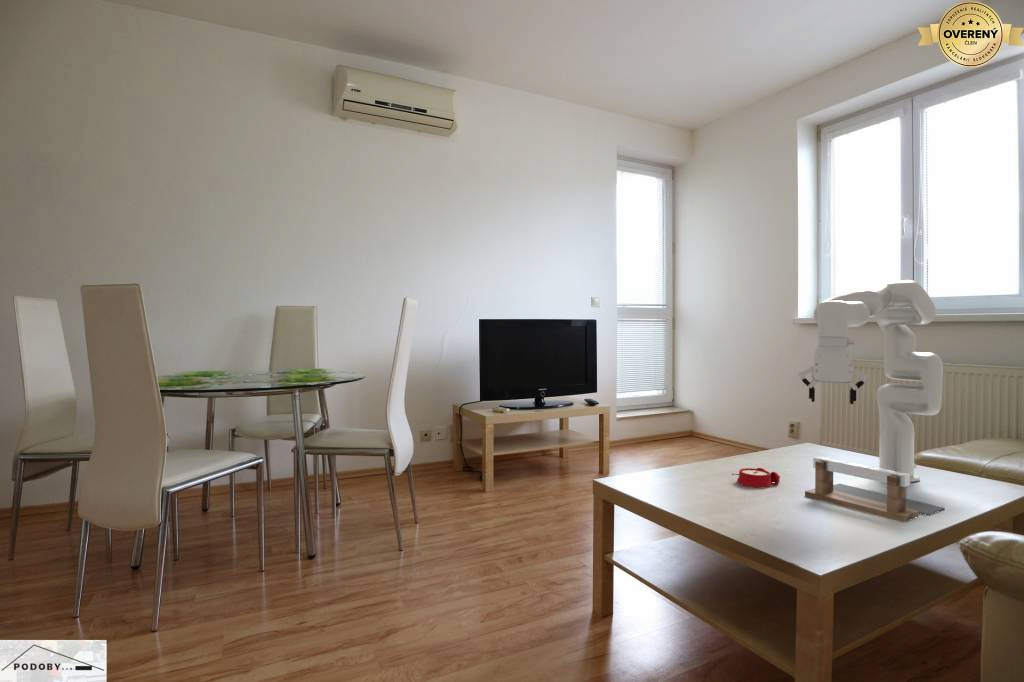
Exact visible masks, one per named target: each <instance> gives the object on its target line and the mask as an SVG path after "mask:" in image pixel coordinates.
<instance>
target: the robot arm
mask: <svg viewBox="0 0 1024 682" xmlns="http://www.w3.org/2000/svg"><path fill="white" fill-rule="evenodd" d="M936 309H937V308H936V305H935V303H934V301H933V299H932V298H931V297H930V295H929V293H927V291H926V290H925V289H924V287H923V286H922V285H921V284H919V282H917V281H915V280H910V279H904V280H892V281H881V282H877V283H874V284H872V285H870V286H868V287H866V288H863V289H861V290H858V291H855V292H850V293H847V294H843V295H837V296H834V297H831V298H827V299H826V300H823V301H821V302H820V303H818V304H817V306H816V307H815V309H814V311H813V320H814V321H815V323H816V324H817V326H818V328H817V329H818V331H817V332H818V333H817V336H818V337H817V347H815V348H814V351H813V356H812V366H811V367H809V368H806V369H804V370H802V371H799V372H798V376H799V378H800V379H801V381H802V382H803V384H805V385H806V386H807V387H808V399H809V400H811V402H812V403H814V402H815V400H816V399H815V391H816V389H815V385H816V384H818V383H835V384H839V383H840V384H847V385H848V386H849V387H850V389H849V404H850V405H854V402H857V390H858V389H860V388H861V387H863V385H864V384H865V383H866V381H867V380H868V378H869V374H866V373H864V372H862V371H859V370H858V369H856V368H854V362H853V360H854V359H853V352H852V349H851V348H849V346H851V345H855V339H850V338H849V328H856V327H861V326H864V325H865V324H867V322H868V321H869V320H870V317H873V318H874V320H875V321H876V323H877V324H878V327H879V328H880V330H881V331H882V333H883V335H884V353H883V354H884V355H883V356H884V357H883V372H884V375H885V376H886V377H887V378H888V379H891V380H898V381H912V382H914V381H915V382H921V383H922V385H918V384H908V383H907V384H906V383H905V384H904V383H885V384H883V385H881V386H879V387H878V389H877V391H876V395H875V397H876V402H877V403H876V404H877V407H878V414H879V415H878V416H879V450H878V451H879V454H878V457H879V458H878V459H879V463H878V466H879V467H878V468H881V469H887V470H892V471H897V472H902V473H907V474H910V483H912V482H913V483H914V482H919V481H920V475H918V474H916V473H915V470H916V469H917V467H918V466H917V465H916V463H915V426H914V423H913V422H912V420H911V419H910V417H909V416H908V415H907V414H909V415H910V414H912V415H922V416H935V415H937V414H938V413H939V412H940V411H941V408H942V403H943V402H942V400H943V385H944V384H943V383H944V382H943V381H944V364H943V361H942V358H941V357H940V356H939V355H938V354H936V353H934V352H925V351H924V352H923V351H922V352H920V351H917V350H916V346H917V337H916V335H915V333H914V332H913V331H912V330H911V329H910V328H909V327H908V325H909V326H910V325H911V326H912V325H913V326H914V325H916V326H917V325H928V324H930V323H931V322H933V321H934V320H935V317H936V313H937V311H936ZM810 373H811V378H812V380H811V381H809V380H808V379H807V377H806V375H808V374H810ZM854 375H856V376H859V377H860V379H859V381H857V382H856V383H854V382H853V381H854Z"/></svg>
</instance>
